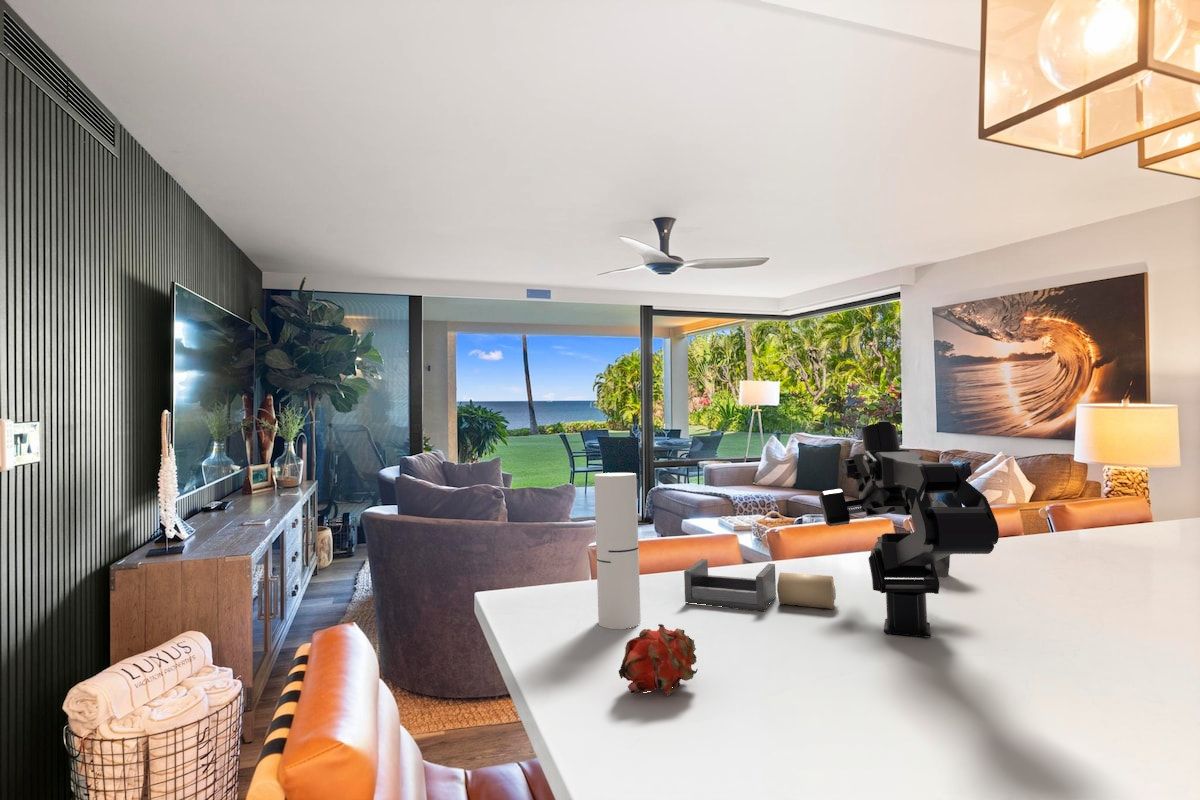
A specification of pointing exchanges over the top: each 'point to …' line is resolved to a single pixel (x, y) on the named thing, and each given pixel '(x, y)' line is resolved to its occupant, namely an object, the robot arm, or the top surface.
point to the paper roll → (806, 590)
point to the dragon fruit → (658, 660)
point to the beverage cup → (944, 563)
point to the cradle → (729, 588)
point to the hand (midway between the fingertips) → (865, 514)
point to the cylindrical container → (617, 550)
